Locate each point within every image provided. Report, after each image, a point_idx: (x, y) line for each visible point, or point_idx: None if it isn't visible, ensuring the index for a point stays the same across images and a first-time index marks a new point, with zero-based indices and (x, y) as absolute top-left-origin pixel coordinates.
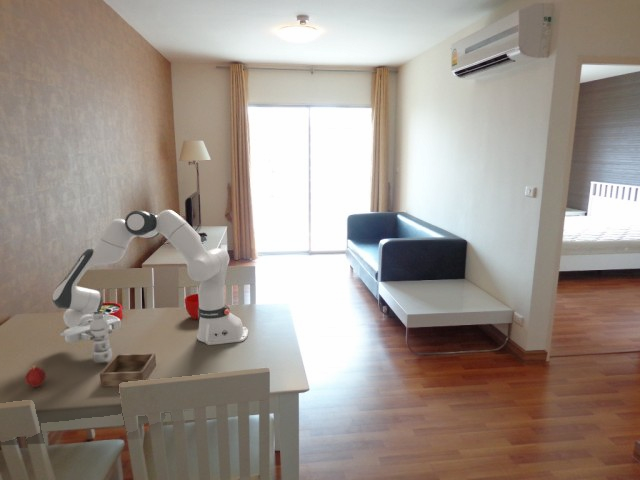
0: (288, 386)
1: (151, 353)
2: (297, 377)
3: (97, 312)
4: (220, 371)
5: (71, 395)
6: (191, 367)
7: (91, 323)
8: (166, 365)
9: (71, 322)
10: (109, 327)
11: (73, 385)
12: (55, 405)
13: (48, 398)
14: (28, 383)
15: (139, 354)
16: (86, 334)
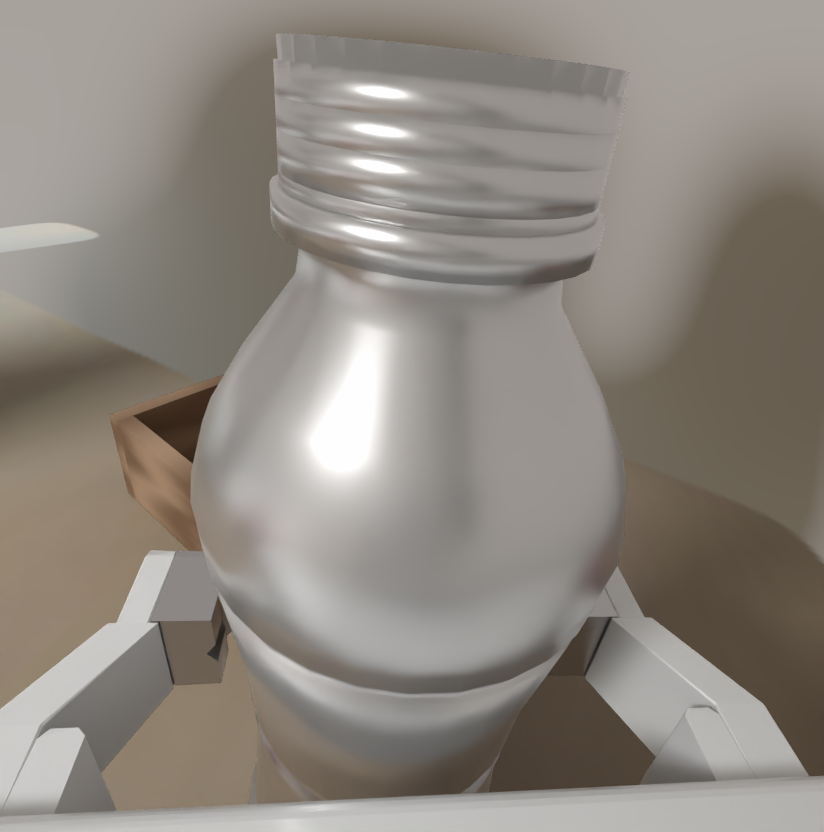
0: (75, 230)
1: (125, 424)
2: (12, 230)
3: (413, 112)
4: (57, 317)
5: (655, 525)
6: (69, 380)
7: (599, 393)
8: (103, 455)
9: None
10: (114, 658)
11: (659, 619)
12: (723, 499)
13: (791, 578)
14: None
15: (183, 460)
16: (659, 652)
